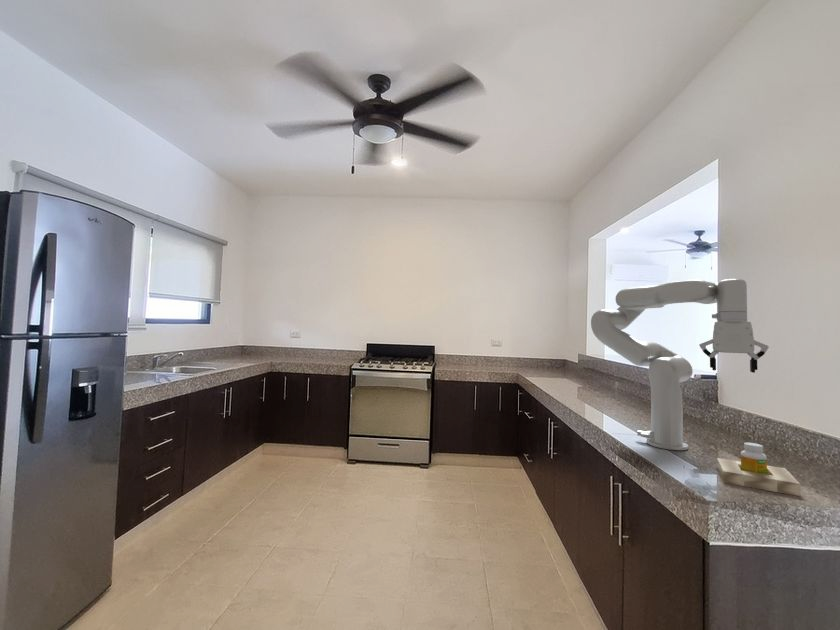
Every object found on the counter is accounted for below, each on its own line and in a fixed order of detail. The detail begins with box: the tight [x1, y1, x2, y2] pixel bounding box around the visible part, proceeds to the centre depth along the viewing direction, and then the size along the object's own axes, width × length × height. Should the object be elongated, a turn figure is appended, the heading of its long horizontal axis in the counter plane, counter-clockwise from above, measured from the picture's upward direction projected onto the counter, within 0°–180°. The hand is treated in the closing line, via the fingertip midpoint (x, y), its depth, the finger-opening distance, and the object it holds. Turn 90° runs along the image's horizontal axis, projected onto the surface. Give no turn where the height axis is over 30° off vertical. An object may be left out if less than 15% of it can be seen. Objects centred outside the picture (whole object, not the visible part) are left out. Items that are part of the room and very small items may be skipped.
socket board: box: [716, 457, 801, 497], centre depth 105 cm, size 15×14×3 cm
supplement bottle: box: [740, 442, 768, 475], centre depth 106 cm, size 5×5×10 cm
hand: (733, 371), depth 124 cm, fingers open, 9 cm apart
